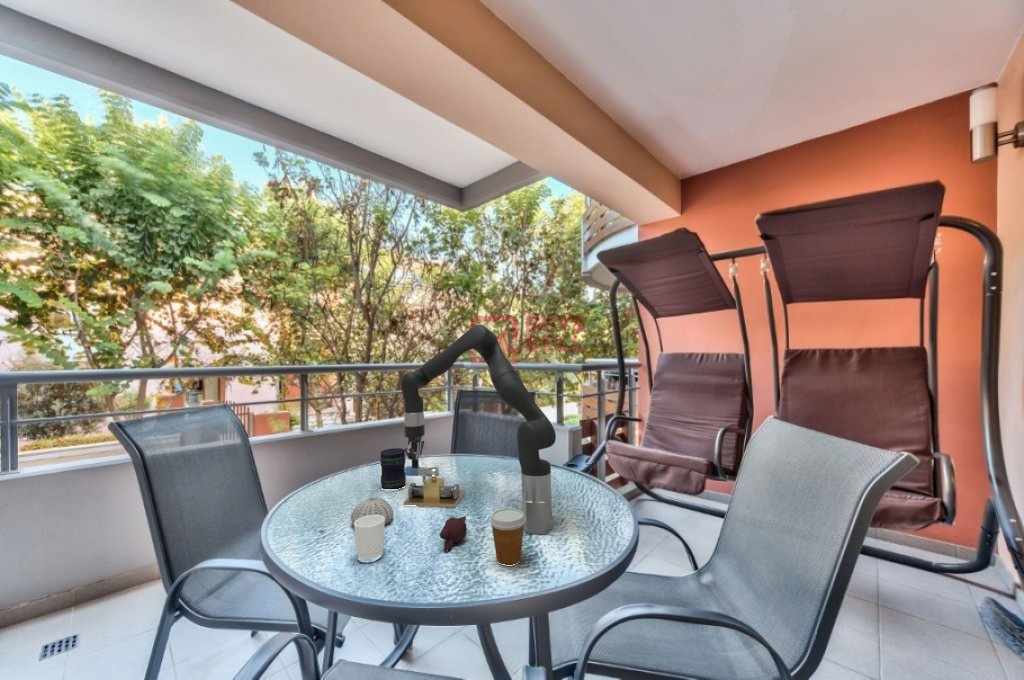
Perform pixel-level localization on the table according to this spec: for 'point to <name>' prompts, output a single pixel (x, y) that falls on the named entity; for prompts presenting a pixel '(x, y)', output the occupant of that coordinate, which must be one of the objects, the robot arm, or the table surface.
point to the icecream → (453, 531)
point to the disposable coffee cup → (508, 534)
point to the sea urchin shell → (373, 509)
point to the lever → (421, 471)
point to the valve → (434, 493)
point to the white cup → (369, 536)
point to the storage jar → (393, 468)
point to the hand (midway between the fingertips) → (415, 468)
